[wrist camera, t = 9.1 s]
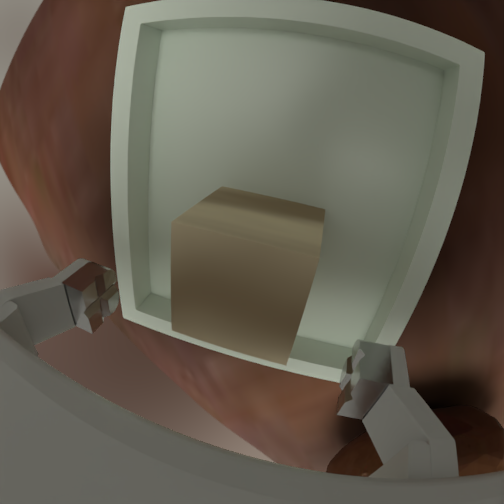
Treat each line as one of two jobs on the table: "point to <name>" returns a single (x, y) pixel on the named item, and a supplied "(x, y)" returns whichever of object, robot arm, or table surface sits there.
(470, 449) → the butternut squash
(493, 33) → the table surface
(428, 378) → the table surface
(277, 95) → the tray
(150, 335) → the table surface
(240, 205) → the beech block
